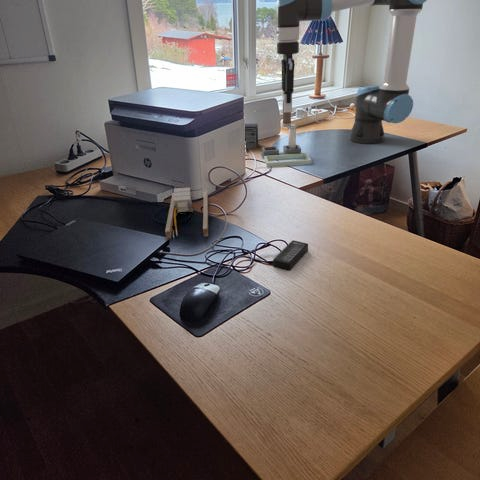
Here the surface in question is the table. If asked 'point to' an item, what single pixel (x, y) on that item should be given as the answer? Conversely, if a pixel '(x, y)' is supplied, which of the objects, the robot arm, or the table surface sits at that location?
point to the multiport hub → (290, 255)
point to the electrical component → (182, 202)
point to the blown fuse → (286, 117)
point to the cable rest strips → (171, 216)
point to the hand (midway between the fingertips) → (287, 110)
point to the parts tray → (287, 163)
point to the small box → (251, 135)
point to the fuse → (292, 137)
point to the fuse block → (274, 151)
